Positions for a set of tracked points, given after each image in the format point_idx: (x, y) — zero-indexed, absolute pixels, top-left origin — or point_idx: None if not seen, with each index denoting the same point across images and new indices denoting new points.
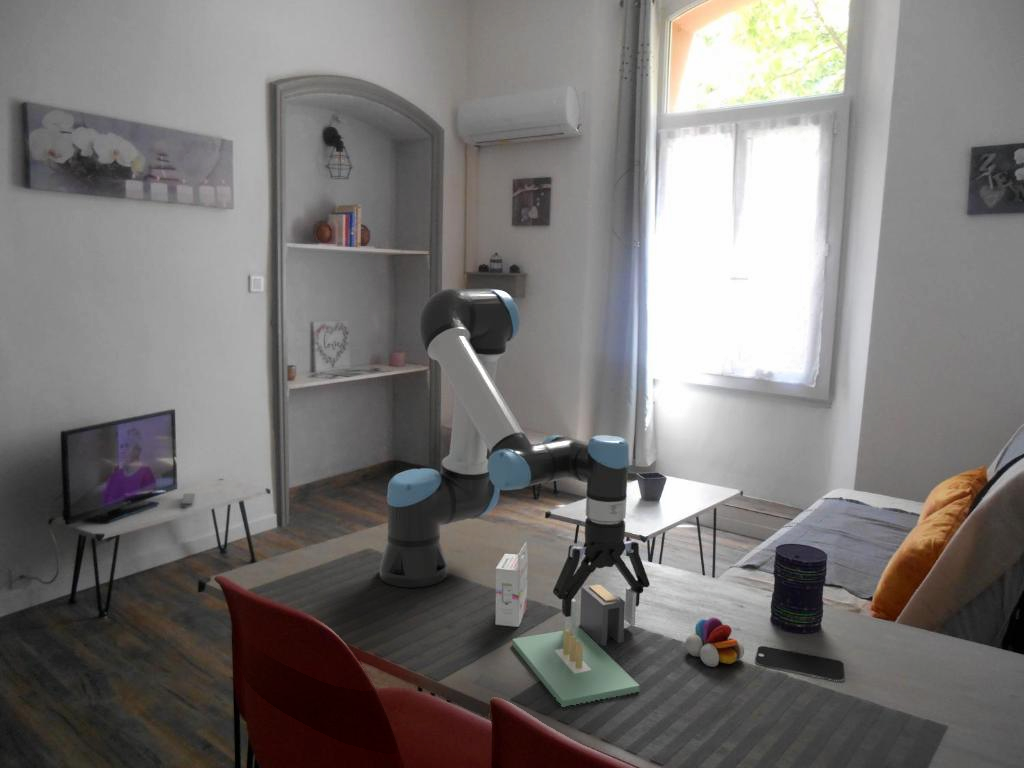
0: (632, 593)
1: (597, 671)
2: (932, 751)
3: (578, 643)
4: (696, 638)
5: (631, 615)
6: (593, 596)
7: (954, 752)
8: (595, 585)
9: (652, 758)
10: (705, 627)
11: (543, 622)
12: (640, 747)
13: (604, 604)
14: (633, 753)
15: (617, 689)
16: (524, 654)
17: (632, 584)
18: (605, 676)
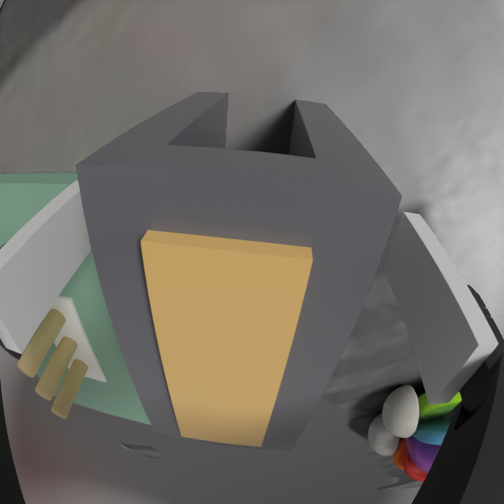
0: (431, 397)
1: (119, 386)
2: (392, 487)
3: (56, 412)
4: (400, 436)
5: (396, 298)
6: (129, 371)
7: (402, 486)
8: (235, 262)
9: (145, 455)
10: (415, 464)
11: (56, 30)
12: (138, 448)
13: (163, 433)
14: (128, 447)
15: (140, 421)
16: None
17: (439, 455)
18: (131, 399)
